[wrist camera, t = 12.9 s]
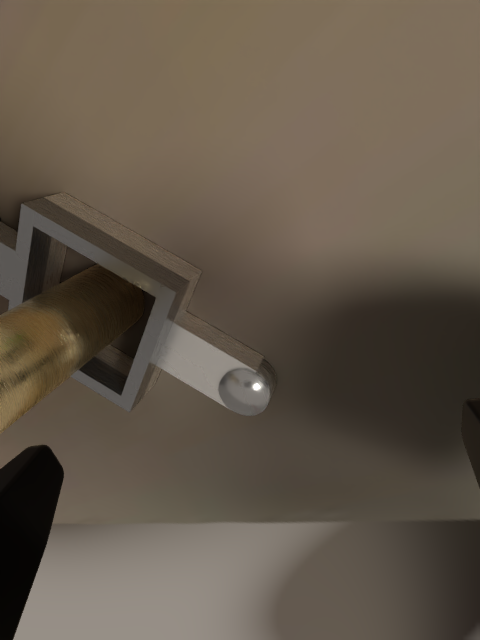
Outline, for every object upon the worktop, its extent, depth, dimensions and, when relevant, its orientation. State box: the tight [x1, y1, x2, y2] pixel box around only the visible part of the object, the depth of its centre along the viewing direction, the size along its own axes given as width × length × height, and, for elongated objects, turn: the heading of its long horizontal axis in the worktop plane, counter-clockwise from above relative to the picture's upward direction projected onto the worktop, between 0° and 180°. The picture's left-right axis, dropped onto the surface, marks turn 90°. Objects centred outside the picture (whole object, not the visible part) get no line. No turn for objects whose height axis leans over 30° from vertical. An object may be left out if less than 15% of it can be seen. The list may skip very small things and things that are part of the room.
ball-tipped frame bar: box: [0, 192, 277, 416], centre depth 23 cm, size 21×9×3 cm, turn 66°
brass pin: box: [0, 264, 145, 434], centre depth 19 cm, size 4×4×13 cm
